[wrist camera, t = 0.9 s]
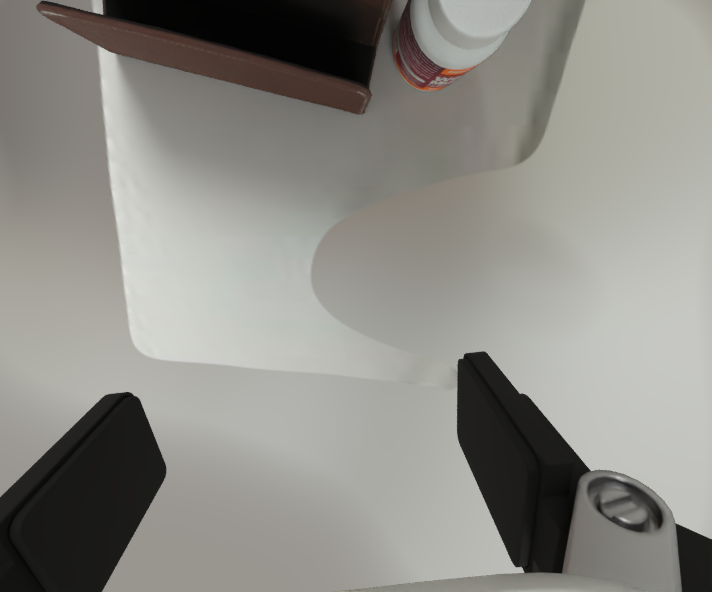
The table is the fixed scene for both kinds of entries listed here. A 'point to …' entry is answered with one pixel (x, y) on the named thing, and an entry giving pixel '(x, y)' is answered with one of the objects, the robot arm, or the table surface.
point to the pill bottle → (450, 38)
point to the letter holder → (247, 41)
